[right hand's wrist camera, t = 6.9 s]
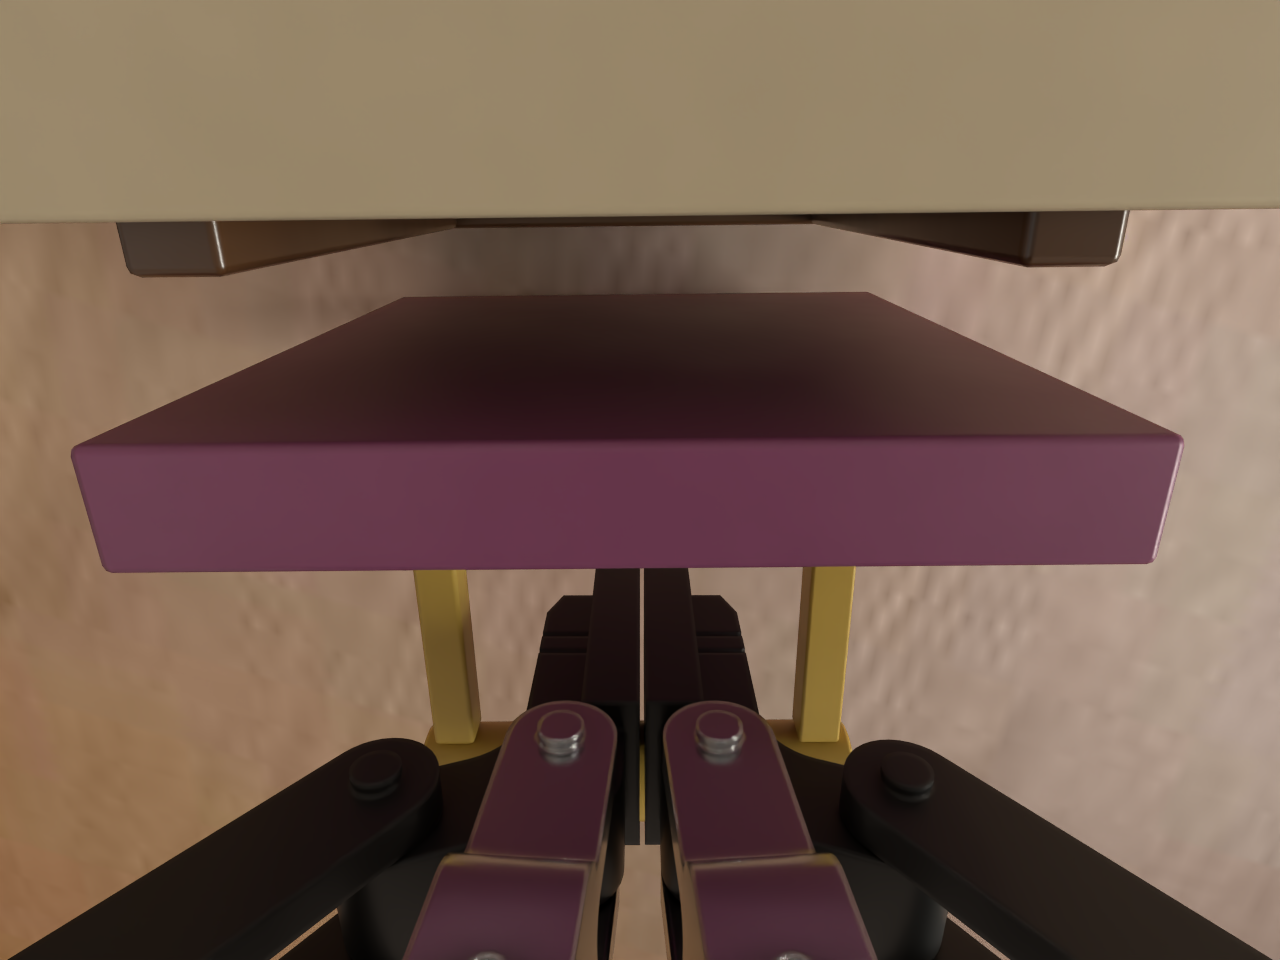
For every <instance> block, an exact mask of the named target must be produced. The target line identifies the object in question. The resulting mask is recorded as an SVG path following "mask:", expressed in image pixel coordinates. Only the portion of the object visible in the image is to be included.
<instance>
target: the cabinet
mask: <svg viewBox="0 0 1280 960" xmlns="http://www.w3.org/2000/svg"><path fill="white" fill-rule="evenodd" d="M1198 209H1280V0H0V224H21V223H105V222H189V221H273V220H357V219H441V218H525V217H609V216H693V215H777V214H861V213H945V212H1029V211H1114V210H1198Z"/></svg>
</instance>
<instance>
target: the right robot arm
mask: <svg viewBox="0 0 1280 960" xmlns="http://www.w3.org/2000/svg"><path fill="white" fill-rule="evenodd" d="M644 765H645V845H660V850H661V908H662V917H663V926H664V935H665V944H666V952H667V960H1001V959H1000V958H999V957H997V956H996V955H995V954H994V953H992V952H991V951H990V950H988V949H987V948H986V947H985V946H983V945H982V944H981V943H979V942H978V941H977V940H976V939H974V938H973V937H972V936H971V935H969V934H968V933H967V932H965V931H964V930H963V929H962V928H960V927H959V926H958V925H956V924H955V923H954V922H953V921H951V920H950V919H949V918H947V914H948V912H950V913H951V914H952V915H953V916H955V917H956V918H957V919H959V920H960V921H961V922H962V923H964V924H965V925H966V926H968V927H969V928H970V929H972V930H973V931H974V932H975V933H977V934H978V935H979V936H981V937H982V938H983V939H984V940H986V941H987V942H988V943H990V944H991V945H992V946H993V947H995V948H996V949H997V950H999V951H1000V952H1001V953H1003V954H1004V955H1005V956H1006V957H1008V958H1009V959H1010V960H1272V959H1270V958H1269V957H1267V956H1266V955H1264V954H1262V953H1261V952H1259V951H1257V950H1256V949H1254V948H1253V947H1251V946H1249V945H1248V944H1246V943H1244V942H1243V941H1241V940H1240V939H1238V938H1236V937H1235V936H1233V935H1231V934H1230V933H1228V932H1227V931H1225V930H1223V929H1222V928H1220V927H1218V926H1217V925H1215V924H1214V923H1212V922H1210V921H1209V920H1207V919H1206V918H1204V917H1202V916H1201V915H1199V914H1197V913H1196V912H1194V911H1193V910H1191V909H1189V908H1188V907H1186V906H1184V905H1183V904H1181V903H1180V902H1178V901H1176V900H1175V899H1173V898H1171V897H1170V896H1168V895H1167V894H1165V893H1163V892H1162V891H1160V890H1158V889H1157V888H1155V887H1154V886H1152V885H1150V884H1149V883H1147V882H1145V881H1144V880H1142V879H1141V878H1139V877H1137V876H1136V875H1134V874H1132V873H1131V872H1129V871H1128V870H1126V869H1124V868H1123V867H1121V866H1119V865H1118V864H1116V863H1115V862H1113V861H1111V860H1110V859H1108V858H1106V857H1105V856H1103V855H1102V854H1100V853H1098V852H1097V851H1095V850H1093V849H1092V848H1090V847H1089V846H1087V845H1085V844H1084V843H1082V842H1080V841H1079V840H1077V839H1076V838H1074V837H1072V836H1071V835H1069V834H1067V833H1066V832H1064V831H1063V830H1061V829H1059V828H1058V827H1056V826H1054V825H1053V824H1051V823H1050V822H1048V821H1046V820H1045V819H1043V818H1042V817H1040V816H1038V815H1037V814H1035V813H1033V812H1032V811H1030V810H1029V809H1027V808H1025V807H1024V806H1022V805H1020V804H1019V803H1017V802H1016V801H1014V800H1012V799H1011V798H1009V797H1007V796H1006V795H1004V794H1003V793H1001V792H999V791H998V790H996V789H994V788H993V787H991V786H990V785H988V784H986V783H985V782H983V781H981V780H980V779H978V778H977V777H975V776H973V775H972V774H970V773H968V772H967V771H965V770H964V769H962V768H960V767H959V766H957V765H955V764H954V763H952V762H951V761H949V760H947V759H946V758H944V757H942V756H941V755H939V754H937V753H935V752H934V751H932V750H930V749H927V748H925V747H923V746H920V745H917V744H913V743H910V742H905V741H900V740H877V741H871V742H868V743H865V744H862V745H861V746H859V747H857V748H855V749H854V750H853V751H852V752H851V753H850V754H849V755H848V757H847V758H846V761H845V764H844V765H842V764H837V763H833V762H829V761H825V760H821V759H817V758H813V757H810V756H806V755H803V754H801V753H798V752H796V751H794V750H792V749H790V748H788V747H786V746H785V745H783V744H782V743H780V742H779V741H778V740H776V737H775V735H774V732H773V730H772V728H771V726H770V725H769V724H768V722H767V721H766V720H765V719H764V718H763V717H762V716H761V715H759V712H758V707H757V702H756V698H755V693H754V689H753V684H752V680H751V675H750V670H749V666H748V661H747V657H746V653H745V648H744V643H743V639H742V636H741V629H740V625H739V620H738V616H737V612H736V611H735V610H734V609H733V608H732V607H731V606H730V605H729V604H728V603H727V602H726V601H725V600H724V599H723V598H722V597H721V596H720V595H691V589H690V580H689V572H688V568H644ZM625 845H640V568H607V569H596V572H595V581H594V590H593V595H564V596H563V597H562V598H561V599H560V600H559V601H558V602H557V603H556V604H555V605H554V606H553V607H552V608H551V609H550V610H549V611H548V612H547V616H546V621H545V626H544V631H543V636H542V640H541V645H540V653H539V654H538V659H537V664H536V669H535V673H534V678H533V683H532V688H531V692H530V697H529V702H528V707H527V711H525V712H524V713H522V714H521V715H520V716H518V717H517V718H516V719H515V720H514V721H513V722H512V724H511V725H510V726H509V728H508V730H507V732H506V735H505V738H504V740H503V743H502V745H501V746H499V747H497V748H496V749H494V750H492V751H490V752H487V753H485V754H483V755H480V756H477V757H473V758H470V759H466V760H462V761H457V762H453V763H449V764H445V765H441V766H439V763H438V760H437V757H436V756H435V754H434V753H433V751H432V750H430V749H429V748H428V747H427V746H425V745H423V744H422V743H420V742H417V741H414V740H410V739H404V738H387V739H379V740H374V741H370V742H367V743H364V744H361V745H358V746H356V747H354V748H352V749H350V750H348V751H346V752H344V753H342V754H341V755H339V756H338V757H336V758H334V759H333V760H331V761H329V762H328V763H326V764H325V765H323V766H321V767H320V768H318V769H316V770H315V771H313V772H312V773H310V774H308V775H307V776H305V777H303V778H302V779H300V780H299V781H297V782H295V783H294V784H292V785H290V786H289V787H287V788H286V789H284V790H282V791H281V792H279V793H277V794H276V795H274V796H273V797H271V798H269V799H268V800H266V801H265V802H263V803H261V804H260V805H258V806H256V807H255V808H253V809H252V810H250V811H248V812H247V813H245V814H243V815H242V816H240V817H239V818H237V819H235V820H234V821H232V822H230V823H229V824H227V825H226V826H224V827H222V828H221V829H219V830H217V831H216V832H214V833H213V834H211V835H209V836H208V837H206V838H204V839H203V840H201V841H200V842H198V843H196V844H195V845H193V846H191V847H190V848H188V849H187V850H185V851H183V852H182V853H180V854H178V855H177V856H175V857H174V858H172V859H170V860H169V861H167V862H165V863H164V864H162V865H161V866H159V867H157V868H156V869H154V870H152V871H151V872H149V873H148V874H146V875H144V876H143V877H141V878H139V879H138V880H136V881H135V882H133V883H131V884H130V885H128V886H126V887H125V888H123V889H122V890H120V891H118V892H117V893H115V894H113V895H112V896H110V897H109V898H107V899H105V900H104V901H102V902H101V903H99V904H97V905H96V906H94V907H92V908H91V909H89V910H88V911H86V912H84V913H83V914H81V915H79V916H78V917H76V918H75V919H73V920H71V921H70V922H68V923H66V924H65V925H63V926H62V927H60V928H58V929H57V930H55V931H53V932H52V933H50V934H49V935H47V936H45V937H44V938H42V939H40V940H39V941H37V942H36V943H34V944H32V945H31V946H29V947H27V948H26V949H24V950H23V951H21V952H19V953H18V954H16V955H14V956H13V957H11V958H10V959H8V960H270V959H271V958H272V957H274V956H275V955H276V954H278V953H279V952H280V951H281V950H283V949H284V948H285V947H287V946H288V945H289V944H290V943H292V942H293V941H294V940H296V939H297V938H298V937H299V936H301V935H302V934H303V933H305V932H306V931H307V930H309V929H310V928H311V927H312V926H314V925H315V924H316V923H318V922H319V921H320V920H321V919H323V918H324V917H325V916H327V915H328V914H329V913H330V912H332V911H333V910H334V909H336V908H337V911H338V914H336V915H335V916H334V917H333V918H331V919H330V920H329V921H327V922H326V923H325V924H324V925H322V926H321V927H320V928H318V929H317V930H316V931H315V932H313V933H312V934H311V935H310V936H308V937H307V938H306V939H304V940H303V941H302V942H301V943H299V944H298V945H297V946H295V947H294V948H293V949H292V950H290V951H289V952H288V953H286V954H285V955H284V956H283V957H281V958H280V959H279V960H613V953H614V944H615V935H616V926H617V917H618V909H619V885H620V883H621V881H622V878H623V873H624V853H625Z"/></svg>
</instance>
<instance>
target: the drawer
mask: <svg viewBox="0 0 1280 960" xmlns="http://www.w3.org/2000/svg"><path fill="white" fill-rule="evenodd" d="M1129 212H1130V210H1114V211H1029V212H945V213H861V214H777V215H693V216H609V217H525V218H441V219H357V220H273V221H189V222H116V224H117V229H118V233H119V237H120V241H121V245H122V249H123V254H124V258H125V262H126V266H127V268H128V270H129V271H130V273H131V274H134V275H137V276H140V277H221V276H225V275H230V274H235V273H240V272H245V271H250V270H254V269H259V268H264V267H269V266H274V265H279V264H283V263H288V262H293V261H298V260H303V259H308V258H312V257H317V256H322V255H327V254H332V253H337V252H341V251H346V250H351V249H356V248H361V247H366V246H370V245H375V244H380V243H385V242H390V241H395V240H399V239H404V238H409V237H414V236H419V235H424V234H428V233H433V232H438V231H443V230H448V229H452V228H506V227H591V226H676V225H760V224H817V225H822V226H827V227H832V228H837V229H842V230H847V231H852V232H856V233H861V234H866V235H871V236H876V237H881V238H886V239H891V240H896V241H901V242H906V243H911V244H915V245H920V246H925V247H930V248H935V249H940V250H945V251H950V252H955V253H960V254H965V255H970V256H975V257H979V258H984V259H989V260H994V261H999V262H1004V263H1009V264H1014V265H1019V266H1024V267H1093V266H1107V265H1109V264H1112V263H1114V262H1117V260H1118V259H1119V257H1120V255H1121V252H1122V247H1123V242H1124V237H1125V232H1126V227H1127V222H1128V217H1129ZM1183 449H1184V440H1183V438H1182V436H1181V435H1179V434H1176V433H1174V432H1172V431H1170V430H1168V429H1165V428H1163V427H1161V426H1159V425H1157V424H1155V423H1152V422H1150V421H1148V420H1146V419H1144V418H1141V417H1139V416H1137V415H1135V414H1133V413H1131V412H1128V411H1126V410H1124V409H1122V408H1120V407H1117V406H1115V405H1113V404H1111V403H1109V402H1107V401H1104V400H1102V399H1100V398H1098V397H1096V396H1093V395H1091V394H1089V393H1087V392H1085V391H1083V390H1080V389H1078V388H1076V387H1074V386H1072V385H1069V384H1067V383H1065V382H1063V381H1061V380H1058V379H1056V378H1054V377H1052V376H1050V375H1048V374H1045V373H1043V372H1041V371H1039V370H1037V369H1034V368H1032V367H1030V366H1028V365H1026V364H1024V363H1021V362H1019V361H1017V360H1015V359H1013V358H1010V357H1008V356H1006V355H1004V354H1002V353H1000V352H997V351H995V350H993V349H991V348H989V347H986V346H984V345H982V344H980V343H978V342H976V341H973V340H971V339H969V338H967V337H965V336H962V335H960V334H958V333H956V332H954V331H952V330H949V329H947V328H945V327H943V326H941V325H938V324H936V323H934V322H932V321H930V320H928V319H925V318H923V317H921V316H919V315H917V314H914V313H912V312H910V311H908V310H906V309H904V308H901V307H899V306H897V305H895V304H893V303H890V302H888V301H886V300H884V299H882V298H880V297H877V296H875V295H873V294H871V293H868V292H822V293H733V294H643V295H553V296H464V297H403V298H401V299H399V300H397V301H394V302H392V303H390V304H388V305H386V306H383V307H381V308H379V309H377V310H374V311H372V312H370V313H368V314H366V315H363V316H361V317H359V318H357V319H355V320H352V321H350V322H348V323H346V324H344V325H341V326H339V327H337V328H335V329H332V330H330V331H328V332H326V333H324V334H321V335H319V336H317V337H315V338H313V339H310V340H308V341H306V342H304V343H302V344H299V345H297V346H295V347H293V348H290V349H288V350H286V351H284V352H282V353H279V354H277V355H275V356H273V357H271V358H268V359H266V360H264V361H262V362H260V363H257V364H255V365H253V366H251V367H248V368H246V369H244V370H242V371H240V372H237V373H235V374H233V375H231V376H229V377H226V378H224V379H222V380H220V381H218V382H215V383H213V384H211V385H209V386H206V387H204V388H202V389H200V390H198V391H195V392H193V393H191V394H189V395H187V396H184V397H182V398H180V399H178V400H176V401H173V402H171V403H169V404H167V405H164V406H162V407H160V408H158V409H156V410H153V411H151V412H149V413H147V414H145V415H142V416H140V417H138V418H136V419H133V420H131V421H129V422H127V423H125V424H122V425H120V426H118V427H116V428H114V429H111V430H109V431H107V432H105V433H103V434H100V435H98V436H96V437H94V438H91V439H89V440H87V441H85V442H83V443H80V444H78V445H76V446H74V447H73V449H72V450H71V459H72V462H73V466H74V469H75V473H76V476H77V480H78V483H79V487H80V490H81V493H82V497H83V500H84V504H85V507H86V511H87V514H88V518H89V521H90V525H91V528H92V532H93V535H94V538H95V542H96V545H97V549H98V552H99V556H100V559H101V563H102V566H103V567H104V569H105V570H106V571H108V572H111V573H139V572H256V571H373V570H413V572H414V580H415V588H416V595H417V603H418V611H419V619H420V626H421V634H422V642H423V649H424V657H425V665H426V673H427V680H428V688H429V696H430V703H431V711H432V719H433V726H432V727H431V729H430V730H429V733H428V735H427V738H426V741H425V744H424V745H425V746H427V747H428V748H429V749H430V750H432V751H433V753H434V754H435V756H436V757H437V760H438V763H439V766H441V765H445V764H449V763H453V762H457V761H462V760H466V759H470V758H473V757H477V756H480V755H483V754H485V753H487V752H490V751H492V750H494V749H496V748H497V747H499V746H501V745H502V743H503V740H504V738H505V735H506V732H507V730H508V728H509V726H510V725H511V724H512V722H513V721H505V722H480V721H481V711H480V702H479V692H478V682H477V672H476V663H475V653H474V643H473V633H472V623H471V614H470V604H469V594H468V584H467V575H466V570H490V569H607V568H724V567H803V575H802V589H801V603H800V617H799V631H798V645H797V659H796V673H795V687H794V701H793V715H792V717H793V719H787V720H766V721H767V722H768V724H769V725H770V726H771V728H772V730H773V732H774V735H775V737H776V740H778V741H779V742H780V743H782V744H783V745H785V746H786V747H788V748H790V749H792V750H794V751H796V752H798V753H801V754H803V755H806V756H810V757H813V758H817V759H821V760H825V761H829V762H833V763H837V764H842V765H844V764H845V761H846V758H847V757H848V755H849V754H850V753H851V752H852V748H851V744H850V740H849V737H848V734H847V731H846V729H845V727H844V725H843V723H842V722H841V713H842V703H843V693H844V682H845V672H846V662H847V652H848V642H849V632H850V621H851V611H852V601H853V591H854V581H855V571H856V566H958V565H1075V564H1148V563H1151V562H1153V561H1154V559H1155V558H1156V556H1157V552H1158V548H1159V544H1160V540H1161V536H1162V532H1163V528H1164V524H1165V520H1166V516H1167V512H1168V508H1169V504H1170V500H1171V496H1172V492H1173V489H1174V485H1175V481H1176V477H1177V473H1178V469H1179V465H1180V461H1181V457H1182V453H1183ZM640 821H645V765H644V721H640Z"/></svg>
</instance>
